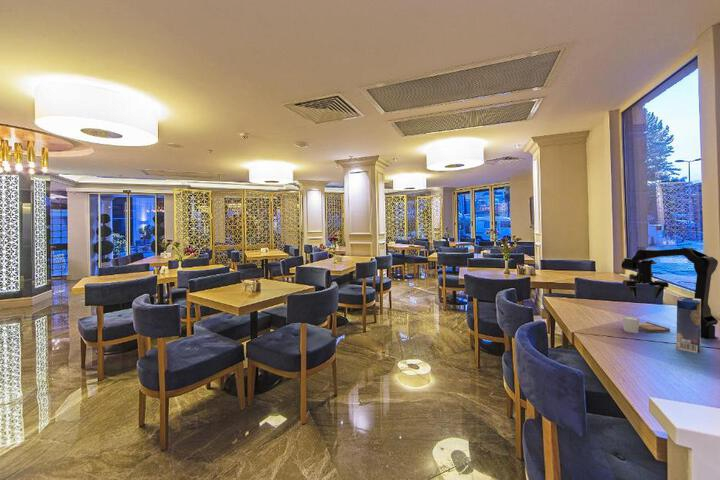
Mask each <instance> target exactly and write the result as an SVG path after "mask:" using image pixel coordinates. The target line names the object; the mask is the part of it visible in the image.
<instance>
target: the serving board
mask: <svg viewBox="0 0 720 480" xmlns="http://www.w3.org/2000/svg"><path fill="white" fill-rule="evenodd" d="M638 331H642V332H645V333H670V332H671V328H669V327H665V326H662V325H661V324H657V323H653V322H650V321H645V322H639V328H638Z"/></svg>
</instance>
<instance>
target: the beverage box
mask: <svg viewBox="0 0 720 480" xmlns="http://www.w3.org/2000/svg"><path fill="white" fill-rule="evenodd" d="M701 340H702V338H701V299H697V298H694V297H688V296H687V297H685V296H678V298H677V300H676V347H675V348H676V350H681V351H685V352H689V353H695V354H700V353H701V352H700V351H701V342H702V341H701Z"/></svg>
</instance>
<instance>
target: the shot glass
mask: <svg viewBox="0 0 720 480" xmlns="http://www.w3.org/2000/svg"><path fill="white" fill-rule="evenodd" d="M640 322H641V321H640V318H638V317H634V316H622V325H623V331H624V332H626V333H632V334H638V333H639V330H638V328H639V323H640Z"/></svg>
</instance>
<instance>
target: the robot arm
mask: <svg viewBox="0 0 720 480" xmlns="http://www.w3.org/2000/svg"><path fill="white" fill-rule="evenodd" d="M675 256H676V257H677V256H683V257H685V258H686V259H687V260H688V261H690V262H691V263H692V264H693V268H694V271H695V273H696V278H695V279H696V281H695V288H694V289H695V291H694V297H693V298H697V299H701V339H706V340H707V339H708V340H710V339H711V340H713V339H719V337H717V336H716V325H717V324H718V323H719V320H718V319H717V318H716V317H714V316H713V315H712V310H711V307H710V304H709V299H710V298H709V296H710V289H711V280H712V275H713V274H714V273H715V271H716V269H717V267H718V264H719V261H718V260H717V259H716V258H715V257H713V256H709V255H707V254H705V253H703V252H700V251H698V250H696V249H694V248H692V247H682V248H673V249H650V248H648V249H647V248H645V249H638V250H637V251H636V252H635V255H633V257H632V258H629V257H626V258H625V257H624V258H623V261H622V262H621V268H622V270H627V271H628V270H629V271H637V272H636V274H635V273H630V274H628V275H629V276H628V278H629V279H623V281H622V285H623V286H625V287H627V288H628V289H629V290H630V292H631V294H632V296H633V298H634V299H636V298H637V286H653V289H654V290H653V291H654V292H653V299H655V300H657V298H658V297H659V296H660V294H661V293H662V291H663V290H664V289H665V290H666V288H669V287H670V286H669V282H668V281H664V280H654V281H653V276H654V273H653V272H652V271H653V267H652V266H653V265H656V264H657V262H656V261H654V259H657V258H661V257H662V258H663V257H675Z"/></svg>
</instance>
